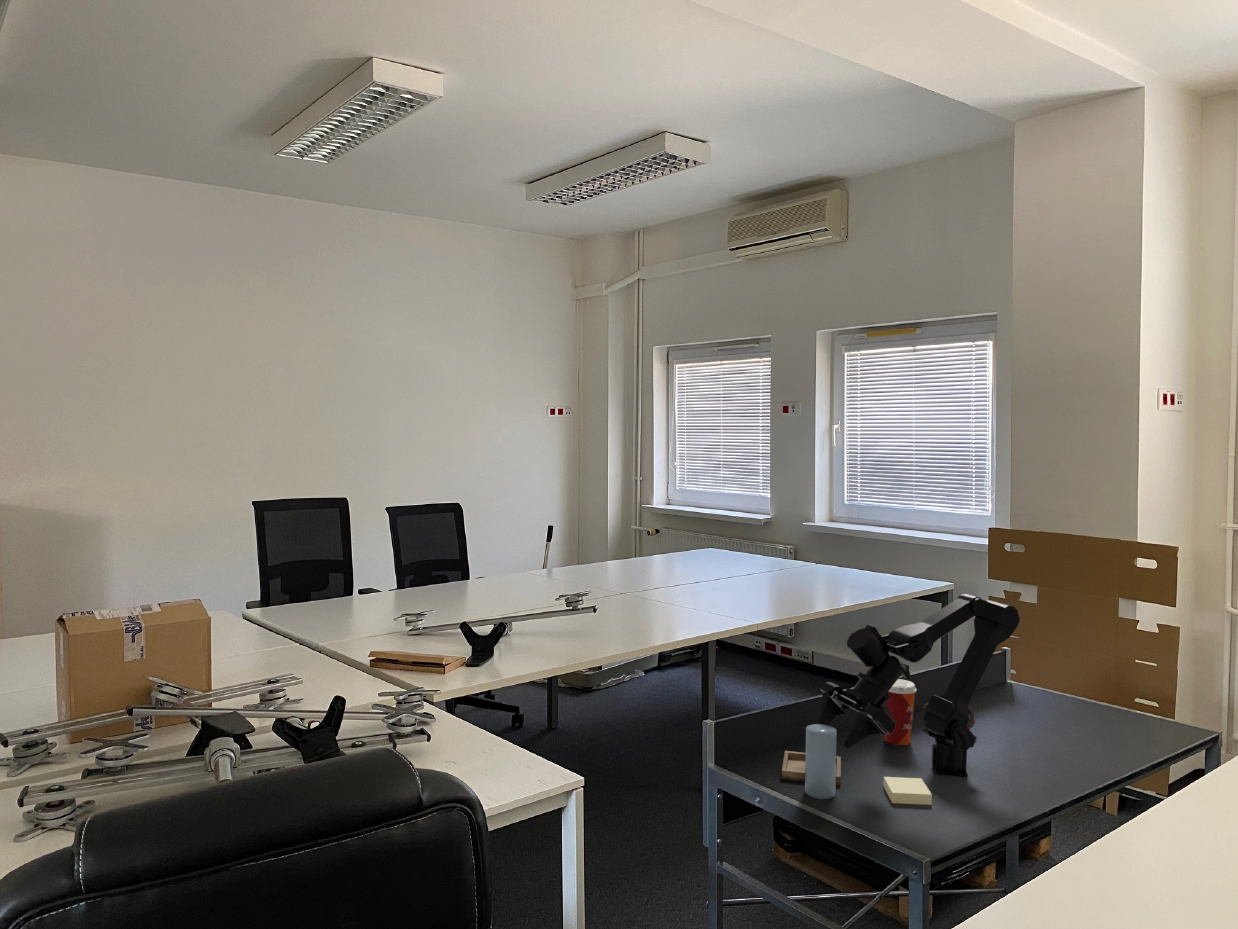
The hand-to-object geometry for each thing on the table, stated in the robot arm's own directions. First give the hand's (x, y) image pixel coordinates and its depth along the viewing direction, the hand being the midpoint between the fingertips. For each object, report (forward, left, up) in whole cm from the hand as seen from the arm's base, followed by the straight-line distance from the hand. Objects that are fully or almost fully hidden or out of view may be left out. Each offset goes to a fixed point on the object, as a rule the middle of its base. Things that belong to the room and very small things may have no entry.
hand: (831, 739), depth 175 cm
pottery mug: (-28, -44, -11) cm, 53 cm away
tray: (+4, -9, -11) cm, 14 cm away
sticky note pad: (-15, -2, -11) cm, 19 cm away
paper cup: (-15, -32, -11) cm, 37 cm away
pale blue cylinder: (+2, +1, -11) cm, 11 cm away
